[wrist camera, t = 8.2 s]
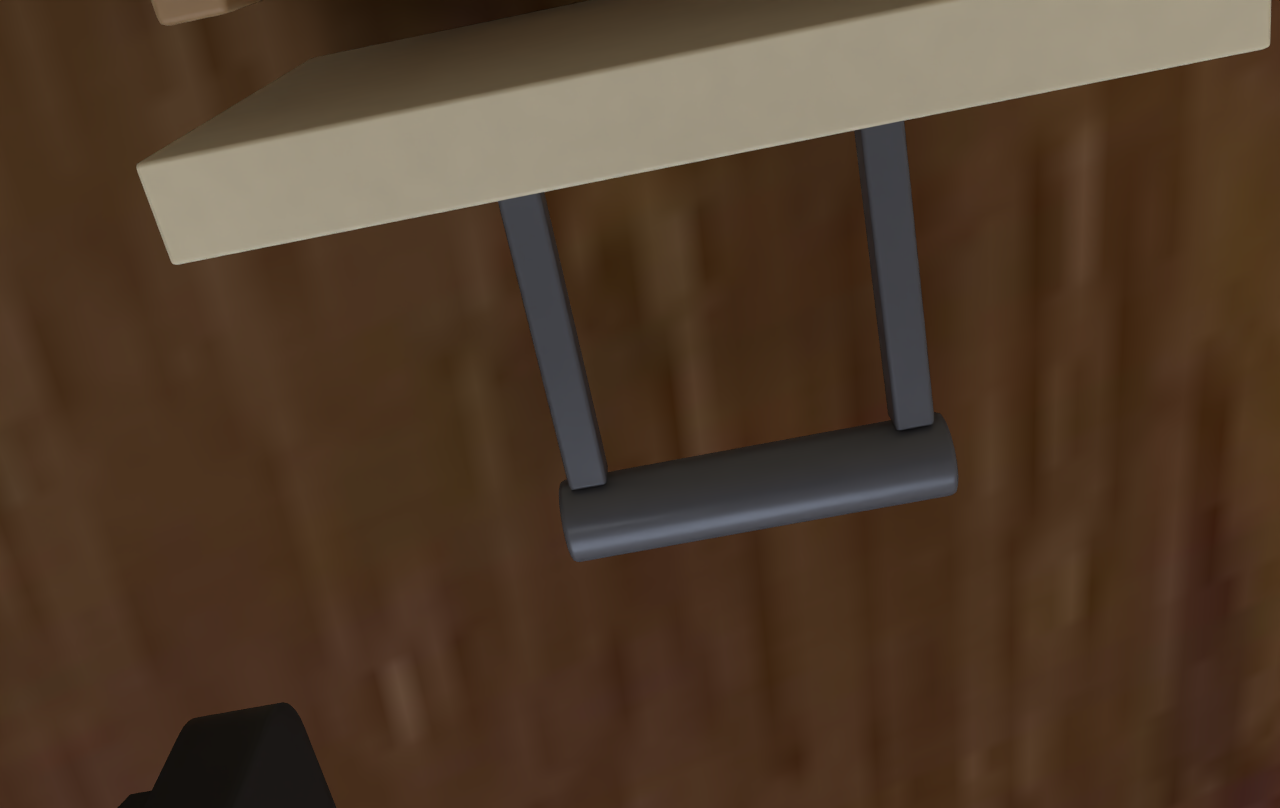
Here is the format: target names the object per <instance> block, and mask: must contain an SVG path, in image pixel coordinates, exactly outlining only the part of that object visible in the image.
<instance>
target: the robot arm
mask: <svg viewBox="0 0 1280 808" xmlns="http://www.w3.org/2000/svg"><path fill="white" fill-rule="evenodd" d="M118 808H336V806H335V803H334V801H333V798H332V796H331V793H330V791H329V788H328V786H327V783H326V781H325V778H324V776H323V773H322V770H321V768H320V765H319V763H318V760H317V758H316V755H315V753H314V750H313V748H312V745H311V743H310V740H309V738H308V735H307V733H306V730H305V727H304V725H303V723H302V721H301V718H300V717H299V715H298V713H297V712H296V710H295V709H294V708H293V707H292V706H291V705H289V704H288V703H277V704H271V705H266V706H260V707H254V708H249V709H243V710H237V711H231V712H226V713H220V714H214V715H209V716H203V717H197V718H193V719H192V720H190V721H188V722H187V724H186V725H185V726H184V727H183V729H182V730H181V732H180V734H179V736H178V738H177V740H176V742H175V744H174V746H173V748H172V750H171V752H170V754H169V756H168V758H167V761H166V763H165V765H164V767H163V769H162V771H161V773H160V775H159V777H158V779H157V781H156V783H155V785H154V787H153V789H152V791H147V792H142V793H136V794H130V795H129V796H128V797H127V798H126V800H125V801H124V802H123V803H122V804H121V805H120V806H119V807H118Z"/></svg>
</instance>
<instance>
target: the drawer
mask: <svg viewBox="0 0 1280 808" xmlns="http://www.w3.org/2000/svg"><path fill="white" fill-rule="evenodd" d="M260 1H263V0H151V2H152V4H153V7H154V10H155V13H156V16H157V19H158V20H159V22H160V23H161V24H162V25H167V26H170V25H175V24H180V23H185V22H189V21H194V20H199V19H204V18H208V17H213V16H218V15H222V14H226V13H229V12H232V11H234V10H237V9H240V8H243V7H246V6H248V5H251V4H254V3H257V2H260ZM1270 26H1271V0H589V1H584V2H579V3H574V4H570V5H565V6H560V7H555V8H550V9H545V10H541V11H536V12H531V13H526V14H521V15H517V16H512V17H507V18H502V19H497V20H493V21H488V22H483V23H478V24H473V25H469V26H464V27H459V28H454V29H449V30H444V31H440V32H435V33H430V34H425V35H420V36H416V37H411V38H406V39H401V40H396V41H392V42H387V43H382V44H377V45H372V46H368V47H363V48H358V49H353V50H348V51H343V52H339V53H334V54H329V55H324V56H319V57H315V58H311V59H310V60H308V61H306V62H305V63H303V64H301V65H300V66H298V67H296V68H295V69H293V70H292V71H290V72H288V73H287V74H285V75H283V76H282V77H280V78H278V79H277V80H275V81H273V82H272V83H270V84H268V85H267V86H265V87H263V88H262V89H260V90H258V91H257V92H255V93H254V94H252V95H250V96H249V97H247V98H245V99H244V100H242V101H240V102H239V103H237V104H235V105H234V106H232V107H230V108H229V109H227V110H225V111H224V112H222V113H220V114H219V115H217V116H215V117H214V118H212V119H211V120H209V121H207V122H206V123H204V124H202V125H201V126H199V127H197V128H196V129H194V130H192V131H191V132H189V133H187V134H186V135H184V136H182V137H181V138H179V139H177V140H176V141H174V142H173V143H171V144H169V145H168V146H166V147H164V148H163V149H161V150H159V151H158V152H156V153H154V154H153V155H151V156H149V157H148V158H146V159H144V160H143V161H141V162H140V163H138V164H137V166H136V167H137V172H138V174H139V177H140V180H141V182H142V185H143V188H144V190H145V193H146V196H147V198H148V201H149V204H150V206H151V209H152V212H153V214H154V217H155V220H156V223H157V225H158V228H159V231H160V233H161V236H162V239H163V241H164V244H165V247H166V249H167V252H168V255H169V257H170V260H171V262H172V263H173V264H177V265H179V264H184V263H189V262H194V261H199V260H204V259H209V258H214V257H219V256H224V255H229V254H234V253H239V252H244V251H249V250H254V249H259V248H264V247H269V246H274V245H280V244H285V243H290V242H295V241H300V240H305V239H310V238H315V237H320V236H325V235H330V234H335V233H340V232H345V231H350V230H355V229H360V228H365V227H370V226H375V225H380V224H385V223H390V222H395V221H400V220H405V219H410V218H416V217H421V216H426V215H431V214H436V213H441V212H446V211H451V210H456V209H461V208H466V207H471V206H476V205H481V204H486V203H491V202H496V201H498V203H499V207H500V211H501V216H502V220H503V224H504V228H505V232H506V236H507V240H508V244H509V248H510V252H511V256H512V260H513V264H514V268H515V272H516V276H517V280H518V284H519V288H520V292H521V296H522V300H523V304H524V308H525V312H526V316H527V320H528V324H529V328H530V332H531V336H532V340H533V344H534V348H535V352H536V356H537V360H538V364H539V368H540V372H541V376H542V380H543V384H544V388H545V392H546V396H547V400H548V404H549V408H550V412H551V416H552V420H553V424H554V428H555V432H556V436H557V440H558V444H559V448H560V452H561V456H562V460H563V464H564V468H565V472H566V476H567V480H564V481H563V482H561V483H560V488H559V505H560V513H561V520H562V526H563V531H564V535H565V540H566V543H567V547H568V550H569V552H570V555H571V556H572V558H573V560H574V561H577V562H582V561H587V560H593V559H598V558H604V557H610V556H615V555H621V554H626V553H632V552H637V551H643V550H649V549H654V548H660V547H665V546H671V545H677V544H682V543H688V542H693V541H699V540H704V539H710V538H716V537H721V536H727V535H732V534H738V533H743V532H749V531H755V530H760V529H766V528H771V527H777V526H783V525H788V524H794V523H799V522H805V521H810V520H816V519H822V518H827V517H833V516H838V515H844V514H850V513H855V512H861V511H866V510H872V509H877V508H883V507H889V506H894V505H900V504H905V503H911V502H917V501H922V500H928V499H933V498H939V497H944V496H950V495H953V494H954V493H956V491H957V486H958V468H957V460H956V454H955V449H954V445H953V441H952V437H951V434H950V431H949V428H948V426H947V423H946V421H945V420H944V418H943V416H942V415H941V414H940V413H936V412H934V411H933V401H932V391H931V381H930V371H929V362H928V352H927V342H926V332H925V322H924V312H923V302H922V293H921V283H920V273H919V263H918V253H917V243H916V234H915V224H914V214H913V204H912V194H911V184H910V175H909V165H908V155H907V145H906V135H905V125H904V120H909V119H914V118H919V117H924V116H929V115H934V114H939V113H944V112H949V111H955V110H960V109H965V108H970V107H975V106H980V105H985V104H990V103H995V102H1000V101H1005V100H1010V99H1015V98H1020V97H1025V96H1030V95H1035V94H1040V93H1045V92H1050V91H1055V90H1060V89H1065V88H1070V87H1075V86H1080V85H1085V84H1091V83H1096V82H1101V81H1106V80H1111V79H1116V78H1121V77H1126V76H1131V75H1136V74H1141V73H1146V72H1151V71H1156V70H1161V69H1166V68H1171V67H1176V66H1181V65H1186V64H1191V63H1196V62H1201V61H1206V60H1211V59H1216V58H1221V57H1227V56H1232V55H1237V54H1242V53H1247V52H1252V51H1257V50H1262V49H1265V48H1267V47H1269V45H1270ZM849 131H854V132H855V140H856V148H857V157H858V165H859V174H860V182H861V190H862V199H863V207H864V216H865V224H866V232H867V241H868V249H869V257H870V266H871V274H872V283H873V291H874V299H875V308H876V316H877V325H878V333H879V341H880V350H881V358H882V367H883V375H884V383H885V392H886V400H887V408H888V415H889V417H890V419H891V420H889V421H884V422H878V423H873V424H868V425H862V426H857V427H851V428H846V429H840V430H835V431H829V432H824V433H819V434H813V435H808V436H802V437H797V438H791V439H786V440H780V441H775V442H769V443H764V444H759V445H753V446H748V447H742V448H737V449H731V450H726V451H720V452H715V453H710V454H704V455H699V456H693V457H688V458H682V459H677V460H671V461H666V462H660V463H655V464H650V465H644V466H639V467H633V468H628V469H622V470H617V471H611V472H608V465H607V461H606V457H605V452H604V448H603V444H602V440H601V435H600V431H599V427H598V422H597V418H596V414H595V409H594V405H593V401H592V396H591V392H590V388H589V383H588V379H587V375H586V371H585V366H584V362H583V358H582V353H581V349H580V345H579V340H578V336H577V332H576V327H575V323H574V319H573V314H572V310H571V306H570V302H569V297H568V293H567V289H566V284H565V280H564V276H563V271H562V267H561V263H560V258H559V254H558V250H557V246H556V241H555V237H554V233H553V228H552V224H551V220H550V215H549V211H548V207H547V202H546V198H545V194H544V192H546V191H552V190H557V189H562V188H567V187H572V186H577V185H582V184H587V183H592V182H597V181H602V180H607V179H612V178H617V177H622V176H627V175H632V174H637V173H642V172H647V171H652V170H657V169H662V168H667V167H672V166H677V165H683V164H688V163H693V162H698V161H703V160H708V159H713V158H718V157H723V156H728V155H733V154H738V153H743V152H748V151H753V150H758V149H763V148H768V147H773V146H778V145H783V144H788V143H793V142H798V141H803V140H808V139H813V138H819V137H824V136H829V135H834V134H839V133H844V132H849Z"/></svg>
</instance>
